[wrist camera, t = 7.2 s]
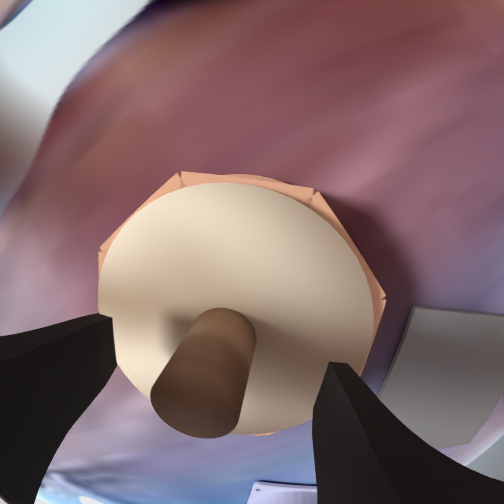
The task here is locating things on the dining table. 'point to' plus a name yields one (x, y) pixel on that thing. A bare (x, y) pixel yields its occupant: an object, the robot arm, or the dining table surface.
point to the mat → (446, 374)
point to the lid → (233, 307)
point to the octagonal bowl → (295, 192)
